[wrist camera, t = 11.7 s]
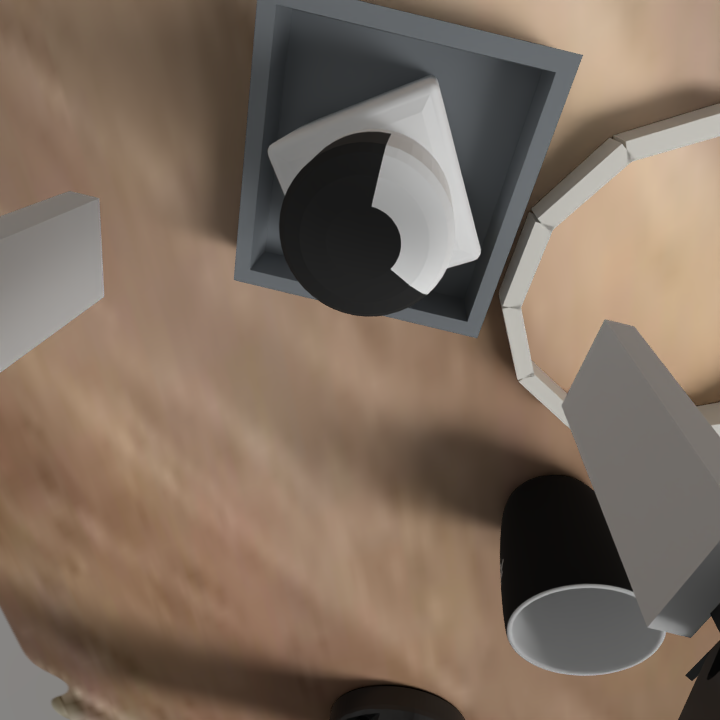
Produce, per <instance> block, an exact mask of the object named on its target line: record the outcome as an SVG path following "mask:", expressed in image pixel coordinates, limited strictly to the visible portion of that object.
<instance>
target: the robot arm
mask: <svg viewBox="0 0 720 720" xmlns="http://www.w3.org/2000/svg"><path fill="white" fill-rule="evenodd" d="M103 297H104V282H103V263H102V243H101V223H100V203H99V198H96V197H92V196H88V195H84V194H80V193H75V192H71V191H68V192H66V193H63V194H60V195H57V196H55V197H52V198H49V199H46V200H44V201H41V202H38V203H35V204H33V205H30V206H27V207H24V208H22V209H19V210H16V211H14V212H11V213H8V214H5V215H3V216H0V372H2V371H3V370H5V369H6V368H7V367H9V366H10V365H11V364H13V363H14V362H15V361H17V360H18V359H20V358H21V357H22V356H24V355H25V354H26V353H28V352H29V351H31V350H32V349H33V348H35V347H36V346H37V345H39V344H40V343H42V342H43V341H44V340H46V339H47V338H48V337H50V336H51V335H52V334H54V333H55V332H57V331H58V330H59V329H61V328H62V327H63V326H65V325H66V324H68V323H69V322H70V321H72V320H73V319H74V318H76V317H77V316H78V315H80V314H81V313H83V312H84V311H85V310H87V309H88V308H89V307H91V306H92V305H94V304H95V303H96V302H98V301H99V300H100V299H102V298H103ZM561 406H562V408H563V411H564V414H565V416H566V419H567V421H568V424H569V427H570V429H571V432H572V434H573V437H574V439H575V442H576V445H577V447H578V450H579V452H580V455H581V458H582V460H583V463H584V465H585V468H586V470H587V473H588V476H589V478H590V481H591V483H592V486H593V489H594V491H595V494H596V496H597V499H598V501H599V504H600V507H601V509H602V512H603V514H604V517H605V519H606V522H607V525H608V527H609V530H610V532H611V535H612V538H613V540H614V543H615V545H616V548H617V550H618V553H619V556H620V558H621V561H622V563H623V566H624V569H625V571H626V574H627V576H628V579H629V581H630V584H631V587H632V589H633V592H634V594H635V597H636V600H637V602H638V605H639V607H640V610H641V612H642V615H643V618H644V620H645V623H646V625H647V628H651V629H656V630H660V631H664V632H668V633H673V634H677V635H681V636H685V637H690V638H691V637H692V636H693V635H694V634H695V633H696V632H697V631H698V629H699V628H700V627H701V626H702V625H703V624H704V623H705V622H706V621H707V620H708V619H709V618H710V617H711V616H712V618H713V620H714V622H715V624H716V626H717V628H718V630H719V632H720V436H719V435H718V434H717V433H716V431H715V430H714V429H713V427H712V426H711V425H710V424H709V422H708V421H707V420H706V418H705V417H704V416H703V415H702V413H701V412H700V411H699V409H698V408H697V407H696V406H695V404H694V403H693V402H692V400H691V399H690V398H689V396H688V395H687V394H686V393H685V391H684V390H683V389H682V387H681V386H680V385H679V384H678V382H677V381H676V380H675V378H674V377H673V376H672V375H671V373H670V372H669V371H668V369H667V368H666V367H665V366H664V364H663V363H662V362H661V360H660V359H659V358H658V357H657V355H656V354H655V353H654V351H653V350H652V349H651V348H650V346H649V345H648V344H647V342H646V341H645V340H644V338H643V337H642V336H641V335H640V333H639V332H638V331H637V329H636V328H635V327H634V326H630V325H626V324H622V323H618V322H614V321H609V320H604V322H603V324H602V326H601V328H600V330H599V332H598V334H597V336H596V338H595V340H594V342H593V344H592V346H591V348H590V350H589V352H588V354H587V356H586V358H585V360H584V362H583V364H582V366H581V368H580V370H579V372H578V374H577V376H576V378H575V380H574V382H573V384H572V386H571V388H570V390H569V392H568V394H567V396H566V398H565V400H564V402H563V404H562V405H561ZM685 676H687V677H688V678H689V679H690V680H692V681H693V680H694V679H695V678H696V677H697V676H698V677H697V680H696V682H695V684H694V686H693V688H692V691H691V693H690V695H689V697H688V699H687V702H686V704H685V706H684V708H683V710H682V713H681V715H680V717H679V719H678V720H720V641H719V642H718V643H717V644H716V645H715V646H714V647H713V648H712V649H711V650H710V651H709V652H708V653H707V654H706V655H705V656H704V657H703V658H702V659H701V660H700V661H699V662H698V663H697V664H696V665H695V666H694V667H693V668H692V669H691V670H690V671H689V672H688V673H687V674H686V675H685ZM330 720H465V719H464V717H463V716H462V714H461V713H460V712H459V711H458V710H457V709H456V708H455V707H453V706H452V705H451V704H449V703H448V702H446V701H444V700H442V699H441V698H438V697H436V696H434V695H431V694H429V693H426V692H422V691H419V690H415V689H410V688H404V687H396V686H374V687H366V688H361V689H357V690H354V691H351V692H349V693H347V694H345V695H343V696H341V697H340V698H339V699H338V700H337V701H336V702H335V703H334V704H333V706H332V708H331V713H330Z"/></svg>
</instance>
